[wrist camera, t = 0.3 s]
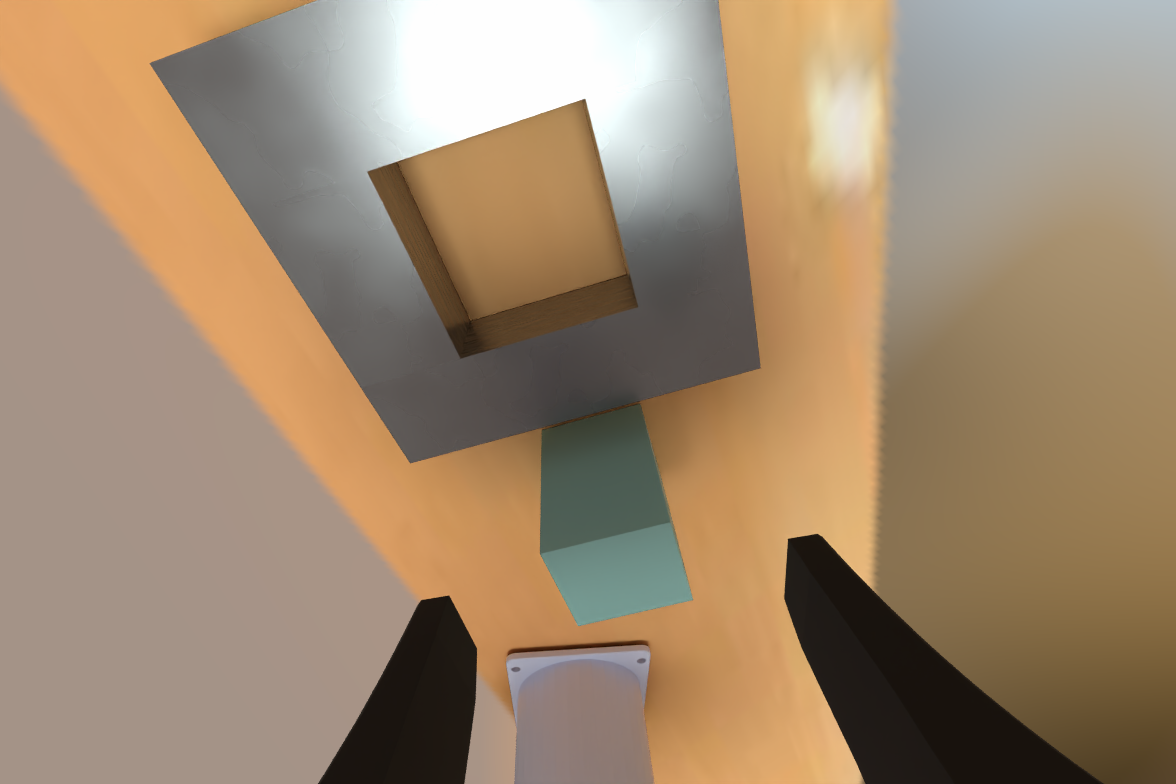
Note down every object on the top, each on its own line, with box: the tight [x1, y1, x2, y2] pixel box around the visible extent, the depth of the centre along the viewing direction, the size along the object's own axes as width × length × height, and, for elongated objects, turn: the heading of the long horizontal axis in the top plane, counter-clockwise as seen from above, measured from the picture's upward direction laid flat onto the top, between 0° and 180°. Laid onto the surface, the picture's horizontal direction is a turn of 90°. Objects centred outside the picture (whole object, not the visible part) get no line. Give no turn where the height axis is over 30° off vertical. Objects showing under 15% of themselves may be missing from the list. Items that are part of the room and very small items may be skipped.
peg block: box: [540, 404, 693, 626], centre depth 19 cm, size 4×4×6 cm
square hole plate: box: [150, 0, 760, 463], centre depth 15 cm, size 12×12×2 cm
